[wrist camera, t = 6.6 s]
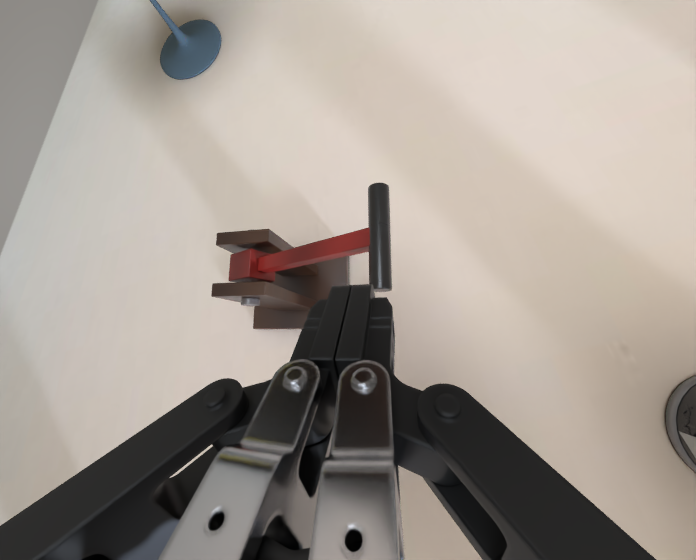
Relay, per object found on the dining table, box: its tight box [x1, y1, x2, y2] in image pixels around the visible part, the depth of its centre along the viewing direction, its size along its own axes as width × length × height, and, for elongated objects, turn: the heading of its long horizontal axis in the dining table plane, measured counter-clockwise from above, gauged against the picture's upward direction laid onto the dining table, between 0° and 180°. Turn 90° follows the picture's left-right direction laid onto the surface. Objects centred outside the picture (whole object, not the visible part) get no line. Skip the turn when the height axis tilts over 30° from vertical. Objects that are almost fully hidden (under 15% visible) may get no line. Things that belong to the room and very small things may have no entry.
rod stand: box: [212, 229, 349, 329], centre depth 28 cm, size 11×9×13 cm
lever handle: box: [229, 183, 392, 292], centre depth 20 cm, size 14×6×2 cm, turn 89°
